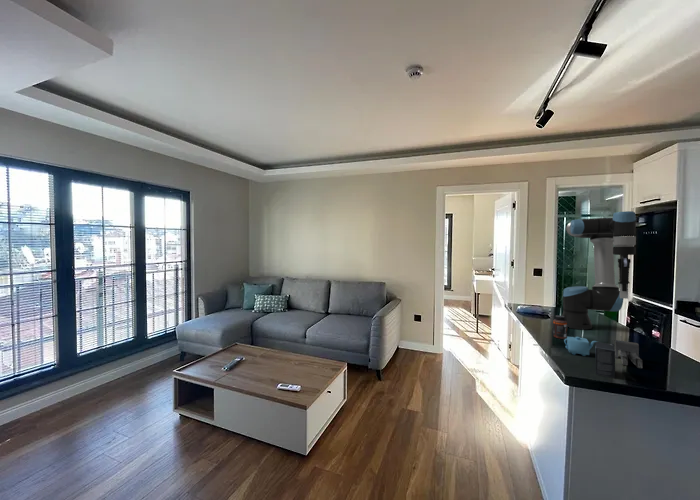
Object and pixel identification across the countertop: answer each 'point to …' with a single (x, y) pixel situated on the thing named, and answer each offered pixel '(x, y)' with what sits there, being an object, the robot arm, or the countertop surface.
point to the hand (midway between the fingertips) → (623, 298)
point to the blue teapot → (578, 345)
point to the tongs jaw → (636, 360)
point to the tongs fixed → (624, 357)
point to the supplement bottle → (560, 327)
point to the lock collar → (626, 347)
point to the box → (605, 359)
